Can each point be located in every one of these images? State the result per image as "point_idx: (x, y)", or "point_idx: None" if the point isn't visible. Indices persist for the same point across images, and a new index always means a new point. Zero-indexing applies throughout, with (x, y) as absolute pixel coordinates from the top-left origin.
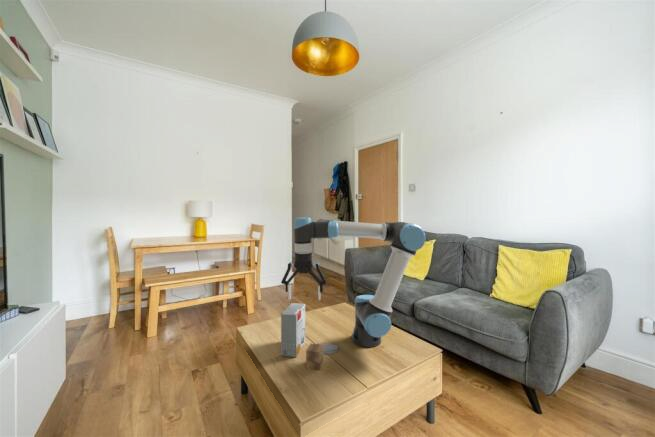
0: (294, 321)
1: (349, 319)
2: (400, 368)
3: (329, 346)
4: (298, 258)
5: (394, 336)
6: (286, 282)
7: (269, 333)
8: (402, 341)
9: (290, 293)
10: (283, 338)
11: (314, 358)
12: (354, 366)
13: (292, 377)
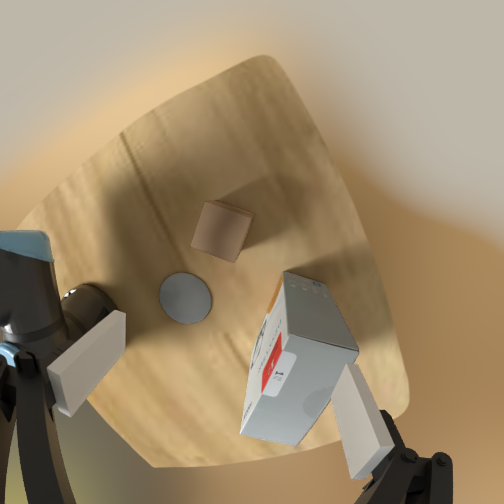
0: (295, 321)
1: (134, 413)
2: (51, 194)
3: (182, 308)
4: None
5: None
6: (412, 468)
7: None
8: None
9: (343, 410)
10: (329, 302)
11: (226, 206)
12: (128, 207)
13: (294, 178)
